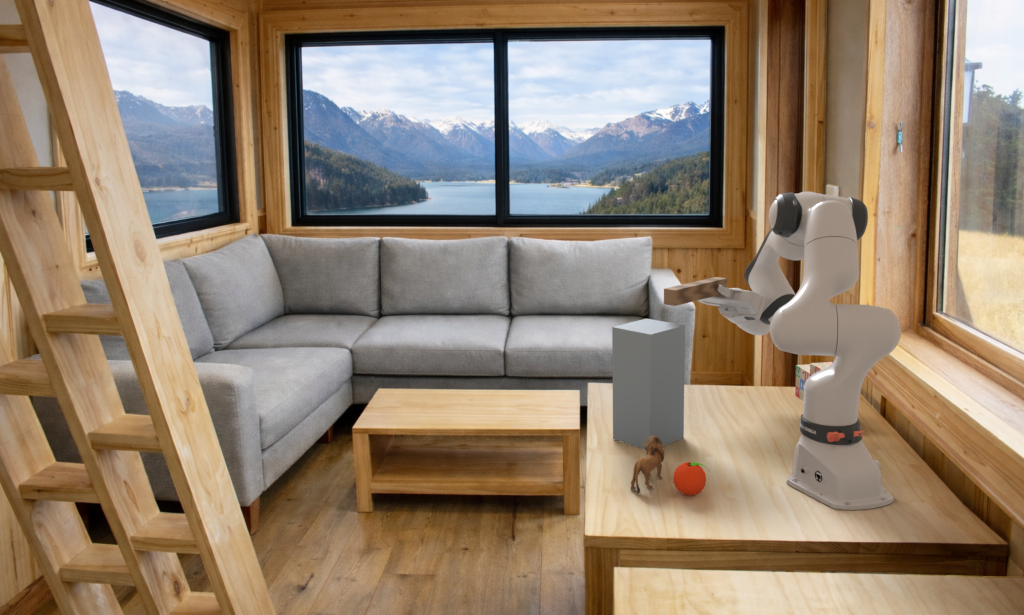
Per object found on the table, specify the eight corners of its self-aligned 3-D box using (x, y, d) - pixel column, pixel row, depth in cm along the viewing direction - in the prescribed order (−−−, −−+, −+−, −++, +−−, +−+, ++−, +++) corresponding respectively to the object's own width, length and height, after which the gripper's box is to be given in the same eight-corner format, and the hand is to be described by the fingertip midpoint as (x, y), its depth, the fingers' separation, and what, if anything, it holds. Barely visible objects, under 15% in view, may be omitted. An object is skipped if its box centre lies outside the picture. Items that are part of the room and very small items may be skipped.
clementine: (703, 485, 184) (704, 454, 182) (716, 498, 177) (716, 466, 175) (668, 489, 182) (668, 457, 181) (679, 502, 176) (679, 470, 174)
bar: (715, 291, 227) (715, 276, 226) (726, 293, 224) (727, 278, 223) (663, 304, 213) (663, 288, 212) (675, 306, 210) (675, 290, 209)
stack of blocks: (794, 395, 244) (795, 354, 241) (815, 394, 244) (817, 353, 242) (828, 419, 223) (830, 374, 220) (851, 418, 223) (853, 373, 221)
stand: (646, 426, 221) (646, 318, 215) (683, 437, 212) (684, 325, 207) (612, 439, 213) (612, 327, 207) (650, 451, 204) (650, 334, 198)
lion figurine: (644, 469, 194) (644, 431, 192) (667, 472, 191) (667, 434, 190) (627, 494, 180) (627, 454, 179) (651, 497, 178) (651, 457, 176)
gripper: (707, 289, 239) (681, 271, 230) (771, 298, 224) (746, 279, 215) (700, 310, 238) (673, 292, 229) (764, 320, 223) (738, 302, 214)
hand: (709, 286), depth 222 cm, fingers closed on bar, 3 cm apart
